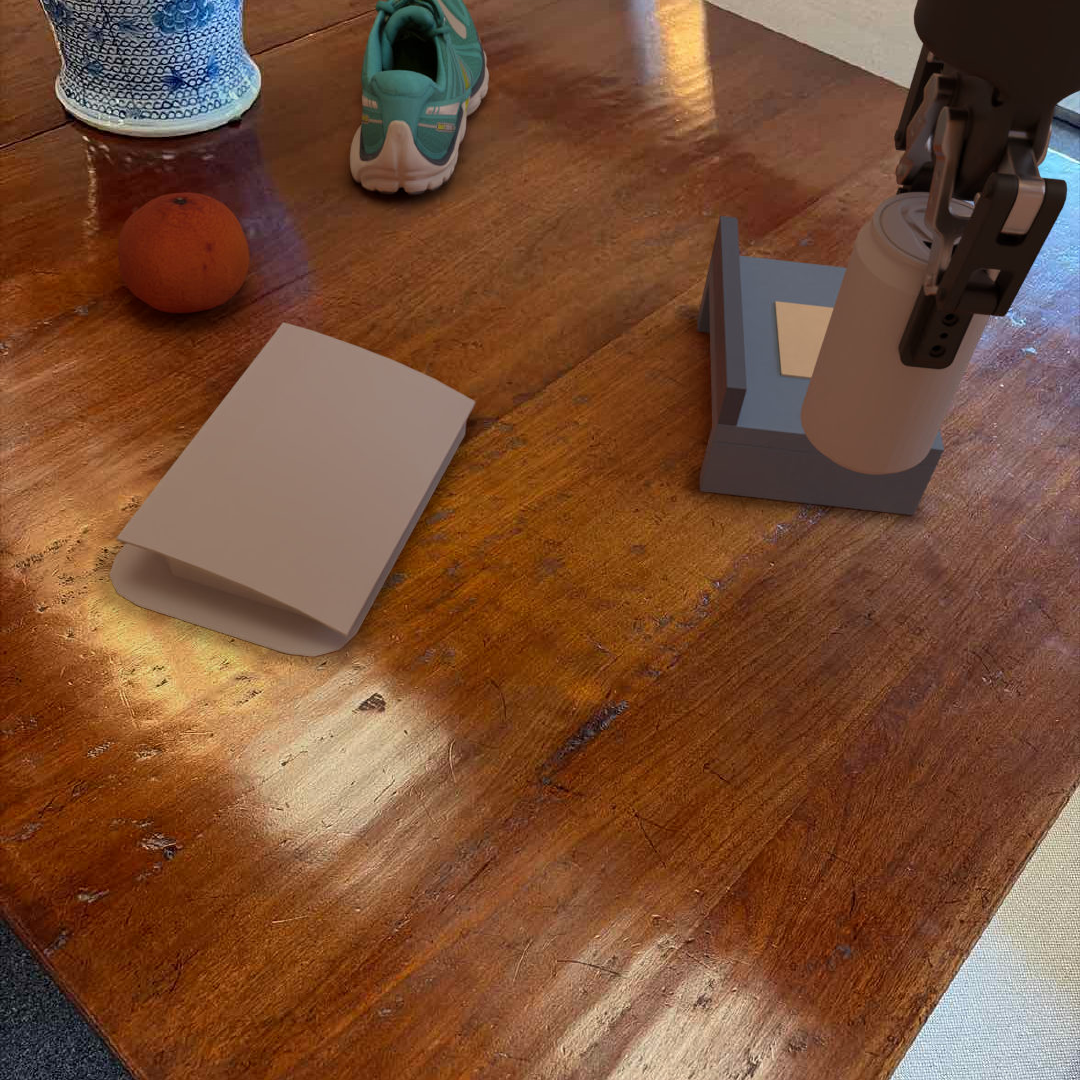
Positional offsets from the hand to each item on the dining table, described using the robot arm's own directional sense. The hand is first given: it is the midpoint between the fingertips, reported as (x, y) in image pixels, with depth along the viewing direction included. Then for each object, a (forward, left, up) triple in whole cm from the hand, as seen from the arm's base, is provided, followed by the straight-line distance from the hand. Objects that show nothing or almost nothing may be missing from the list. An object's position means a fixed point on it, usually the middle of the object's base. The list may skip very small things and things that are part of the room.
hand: (910, 310), depth 52 cm
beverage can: (0, 0, -8) cm, 8 cm away
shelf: (-2, -20, -24) cm, 31 cm away
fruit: (+42, -25, -24) cm, 54 cm away
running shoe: (+29, -53, -24) cm, 65 cm away
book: (+30, -7, -24) cm, 39 cm away
